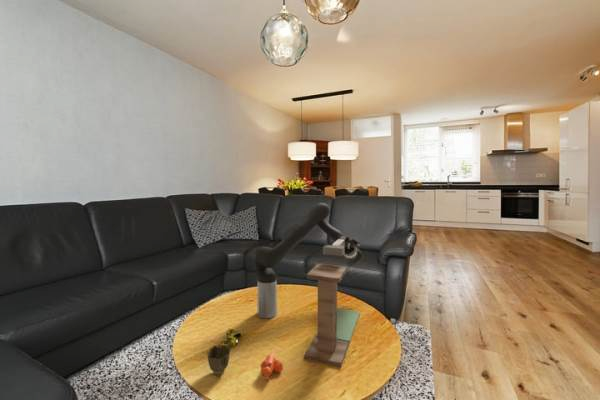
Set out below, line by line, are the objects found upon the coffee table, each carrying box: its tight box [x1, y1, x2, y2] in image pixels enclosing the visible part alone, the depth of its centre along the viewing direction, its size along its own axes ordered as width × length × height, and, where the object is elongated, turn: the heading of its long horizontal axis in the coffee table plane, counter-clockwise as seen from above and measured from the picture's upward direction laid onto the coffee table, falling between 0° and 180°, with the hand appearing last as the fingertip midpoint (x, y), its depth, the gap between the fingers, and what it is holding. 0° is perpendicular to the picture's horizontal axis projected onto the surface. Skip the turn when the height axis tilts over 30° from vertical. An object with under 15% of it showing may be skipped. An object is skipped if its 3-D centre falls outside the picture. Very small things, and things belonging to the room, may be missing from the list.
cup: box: [206, 344, 231, 376], centre depth 98 cm, size 8×7×8 cm
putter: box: [322, 235, 349, 257], centre depth 126 cm, size 24×8×3 cm, turn 159°
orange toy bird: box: [260, 349, 284, 381], centre depth 99 cm, size 5×8×12 cm
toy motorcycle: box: [219, 328, 244, 347], centre depth 117 cm, size 12×4×7 cm
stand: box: [303, 263, 350, 368], centre depth 109 cm, size 14×14×32 cm
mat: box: [316, 307, 361, 344], centre depth 131 cm, size 27×14×1 cm, turn 159°
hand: (342, 238), depth 132 cm, fingers closed on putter, 3 cm apart
